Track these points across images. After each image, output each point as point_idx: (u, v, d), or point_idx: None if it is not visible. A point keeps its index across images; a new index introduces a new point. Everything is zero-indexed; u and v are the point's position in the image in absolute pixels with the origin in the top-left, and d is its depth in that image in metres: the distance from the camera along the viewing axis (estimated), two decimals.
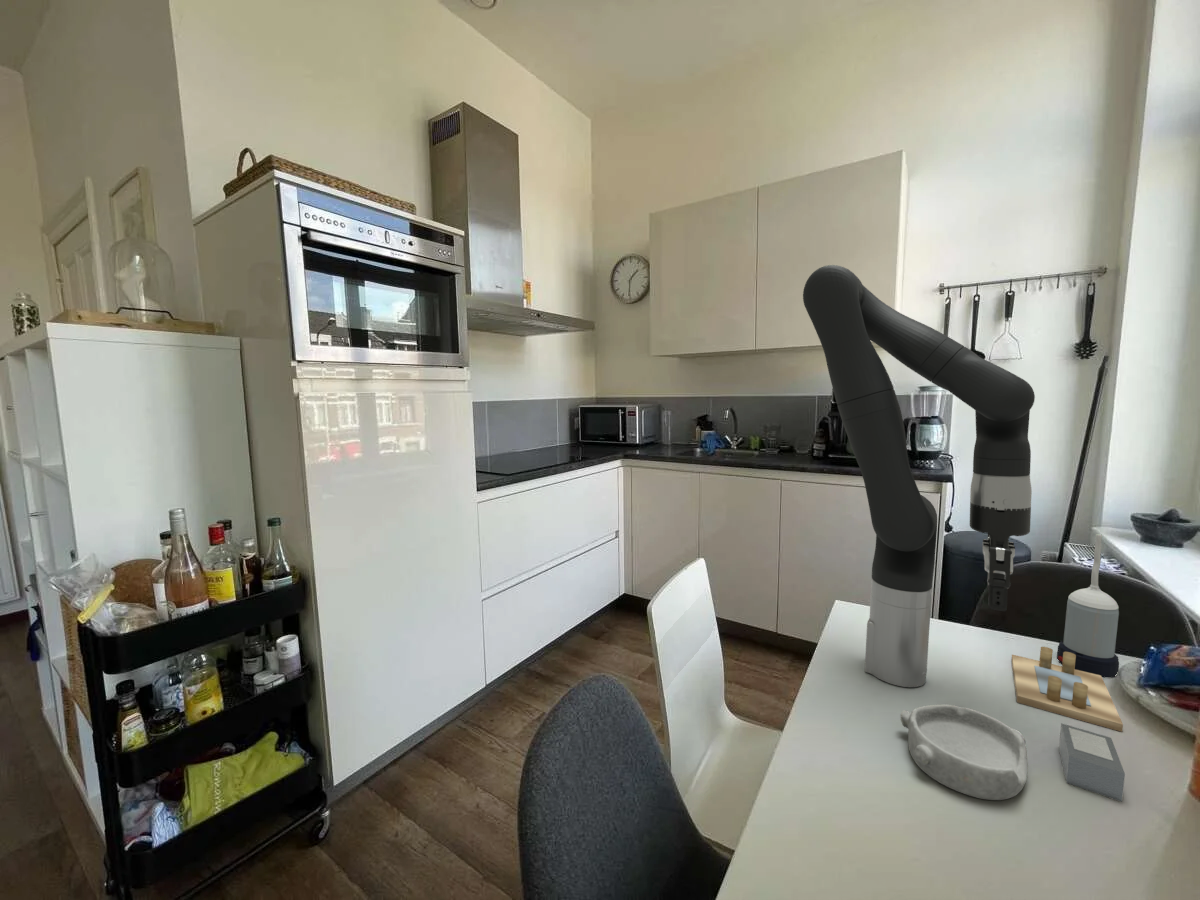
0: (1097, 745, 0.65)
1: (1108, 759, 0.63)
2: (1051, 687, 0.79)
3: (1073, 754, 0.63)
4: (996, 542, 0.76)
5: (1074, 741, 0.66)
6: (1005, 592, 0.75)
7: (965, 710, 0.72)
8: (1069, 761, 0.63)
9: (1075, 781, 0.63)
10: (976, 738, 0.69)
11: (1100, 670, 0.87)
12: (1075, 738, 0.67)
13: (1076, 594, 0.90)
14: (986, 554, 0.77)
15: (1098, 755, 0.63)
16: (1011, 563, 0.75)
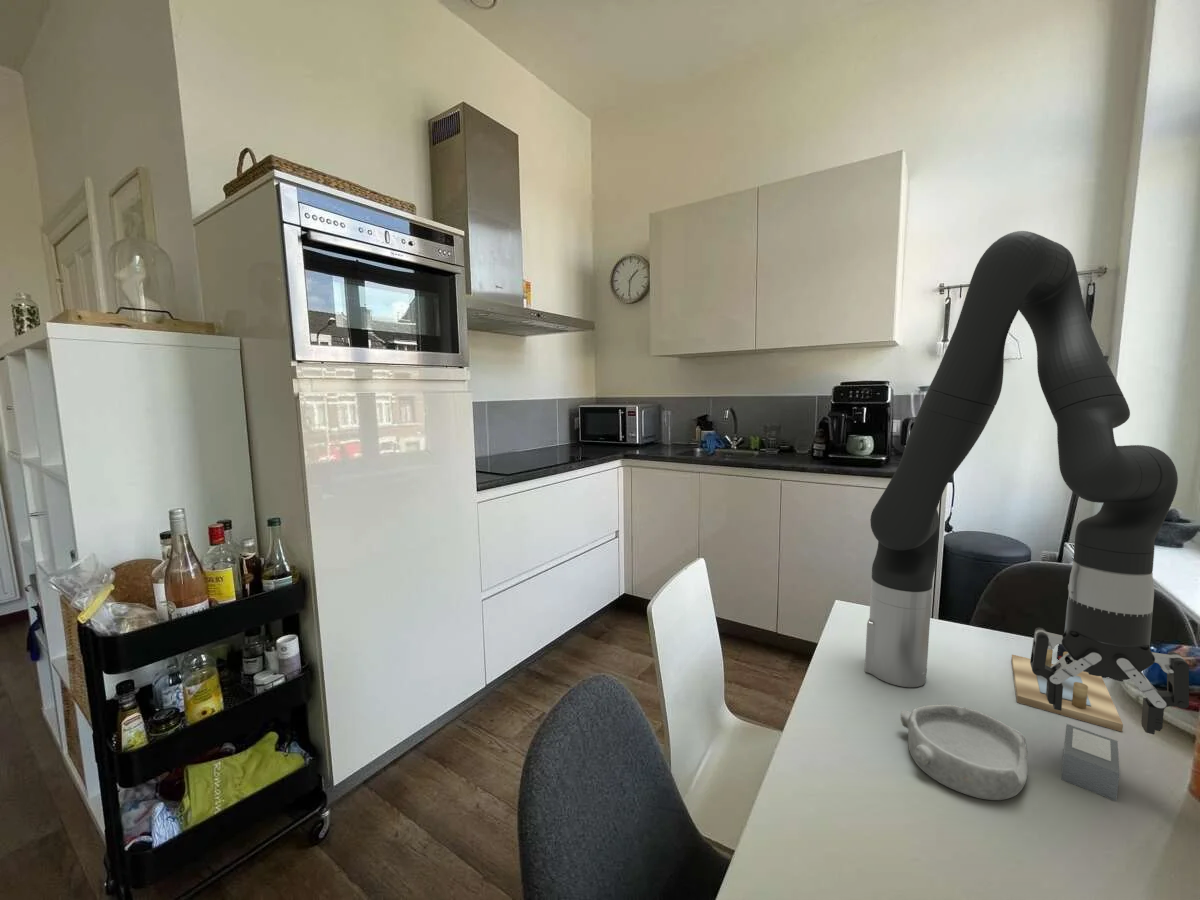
0: (1099, 746, 0.65)
1: (1106, 759, 0.63)
2: None
3: (1069, 752, 0.64)
4: None
5: (1074, 740, 0.66)
6: None
7: (965, 710, 0.72)
8: (1064, 758, 0.64)
9: (1070, 778, 0.64)
10: (976, 738, 0.69)
11: None
12: (1077, 738, 0.67)
13: None
14: (1138, 671, 0.61)
15: (1096, 755, 0.63)
16: None
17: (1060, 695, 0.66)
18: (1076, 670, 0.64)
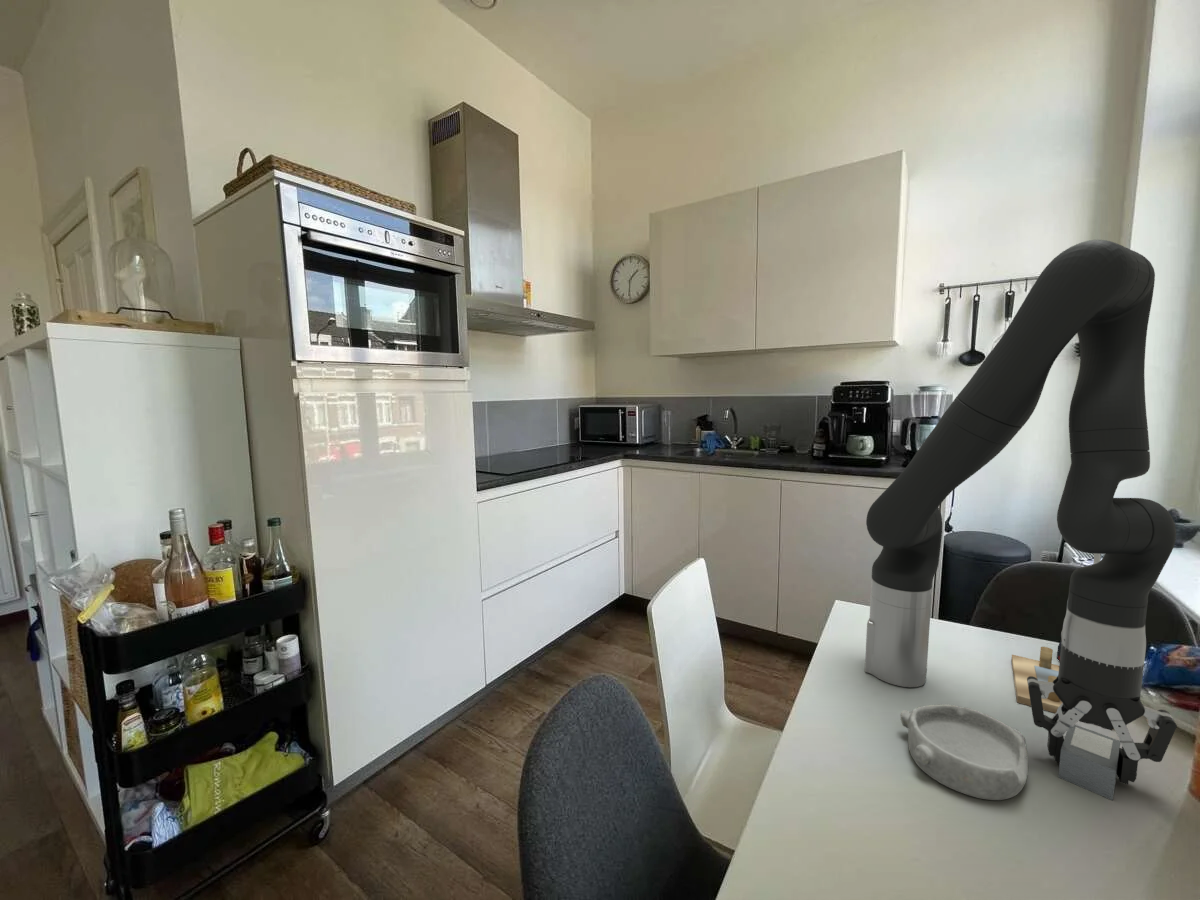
0: (1100, 745, 0.65)
1: (1104, 757, 0.63)
2: None
3: (1066, 749, 0.64)
4: (1142, 704, 0.61)
5: (1074, 738, 0.66)
6: None
7: (965, 710, 0.72)
8: (1061, 754, 0.64)
9: (1067, 775, 0.64)
10: (976, 737, 0.69)
11: None
12: (1078, 736, 0.67)
13: None
14: (1124, 723, 0.62)
15: (1095, 752, 0.64)
16: None
17: None
18: (1072, 720, 0.65)
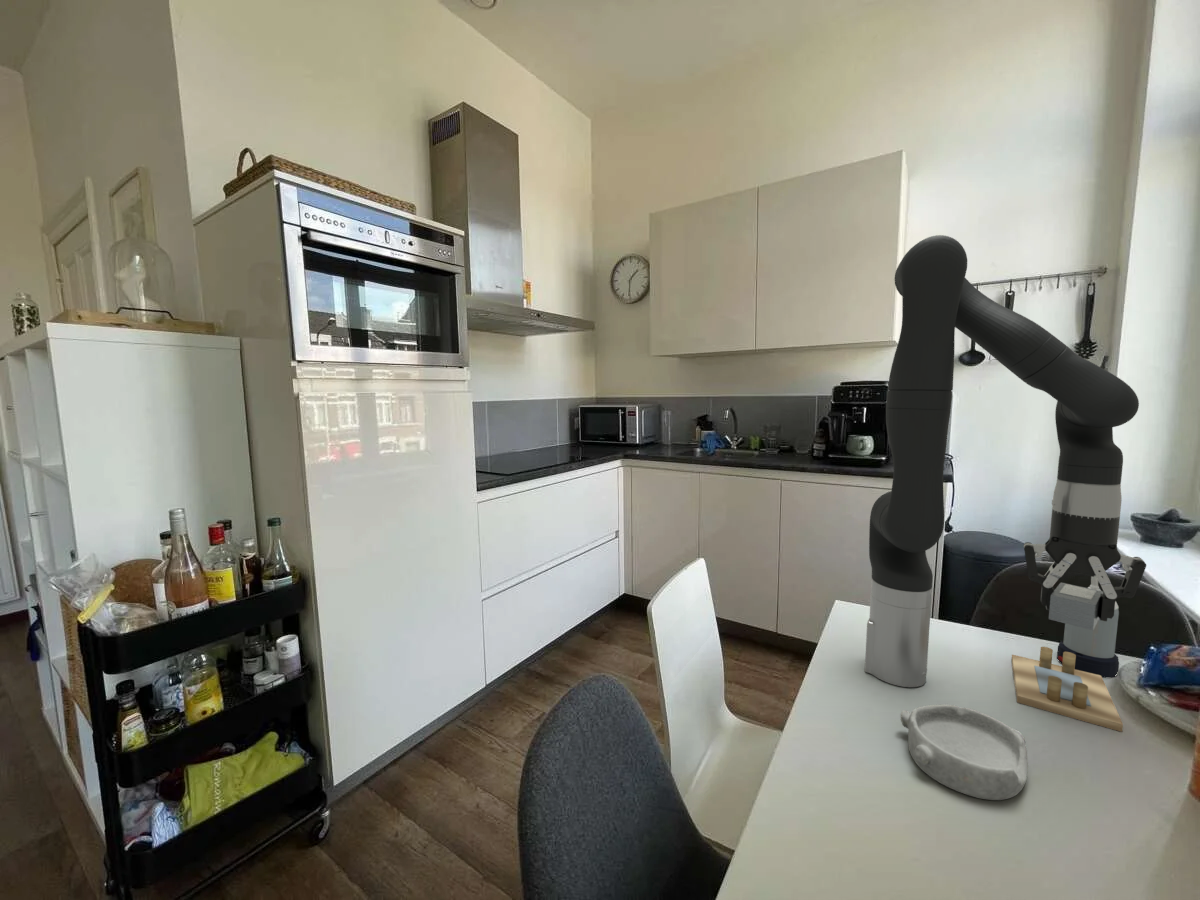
0: (1085, 593, 0.77)
1: (1087, 598, 0.75)
2: (1051, 687, 0.79)
3: (1055, 594, 0.77)
4: (1118, 552, 0.74)
5: (1063, 590, 0.79)
6: None
7: (965, 710, 0.72)
8: (1051, 599, 0.77)
9: (1055, 616, 0.77)
10: (976, 738, 0.69)
11: (1100, 670, 0.87)
12: (1066, 588, 0.79)
13: None
14: (1103, 568, 0.74)
15: (1080, 596, 0.76)
16: None
17: None
18: (1060, 571, 0.77)
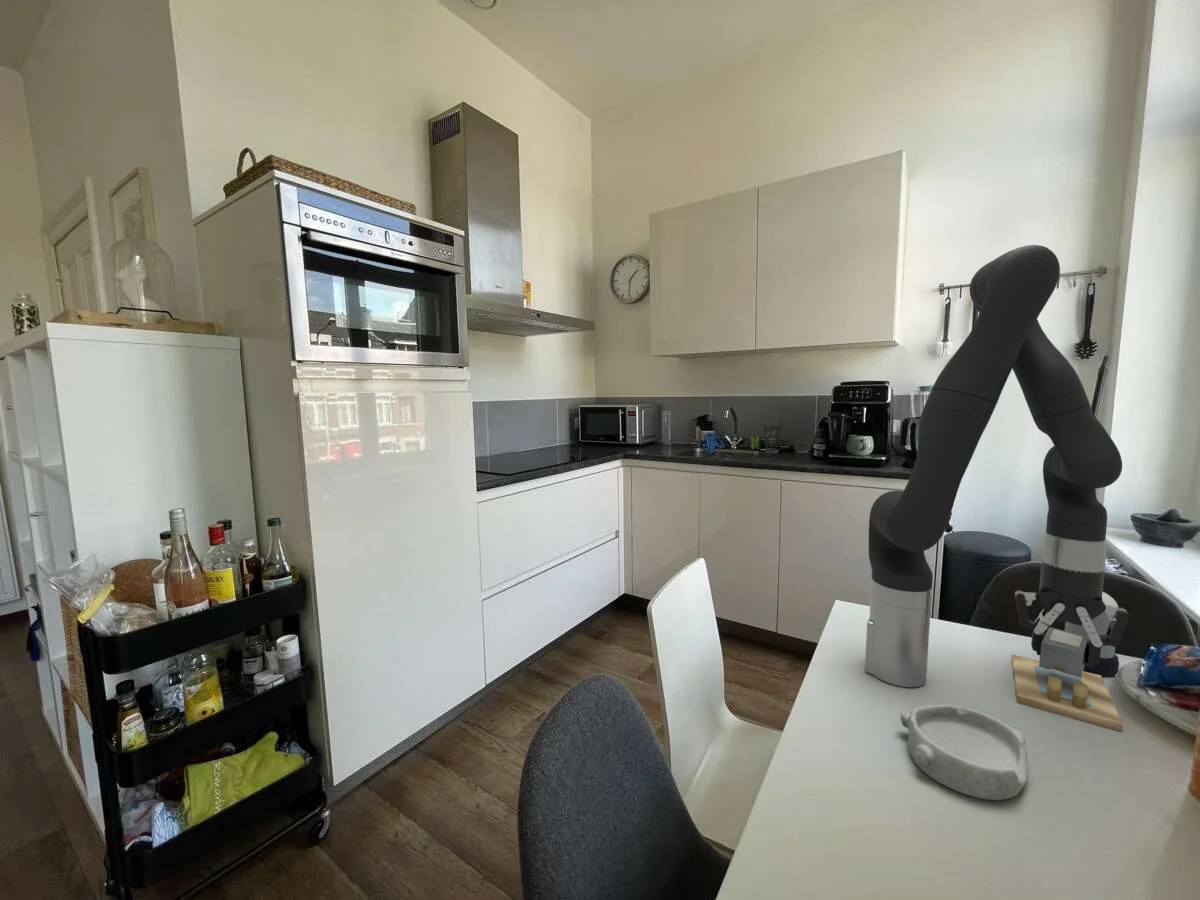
0: (1072, 639, 0.82)
1: (1075, 646, 0.80)
2: (1051, 687, 0.79)
3: (1046, 642, 0.81)
4: (1103, 603, 0.79)
5: (1052, 636, 0.83)
6: None
7: (965, 710, 0.72)
8: (1041, 646, 0.82)
9: (1046, 662, 0.81)
10: (976, 738, 0.69)
11: (1100, 670, 0.87)
12: (1055, 634, 0.84)
13: None
14: (1090, 618, 0.79)
15: (1068, 643, 0.81)
16: None
17: None
18: (1050, 620, 0.82)
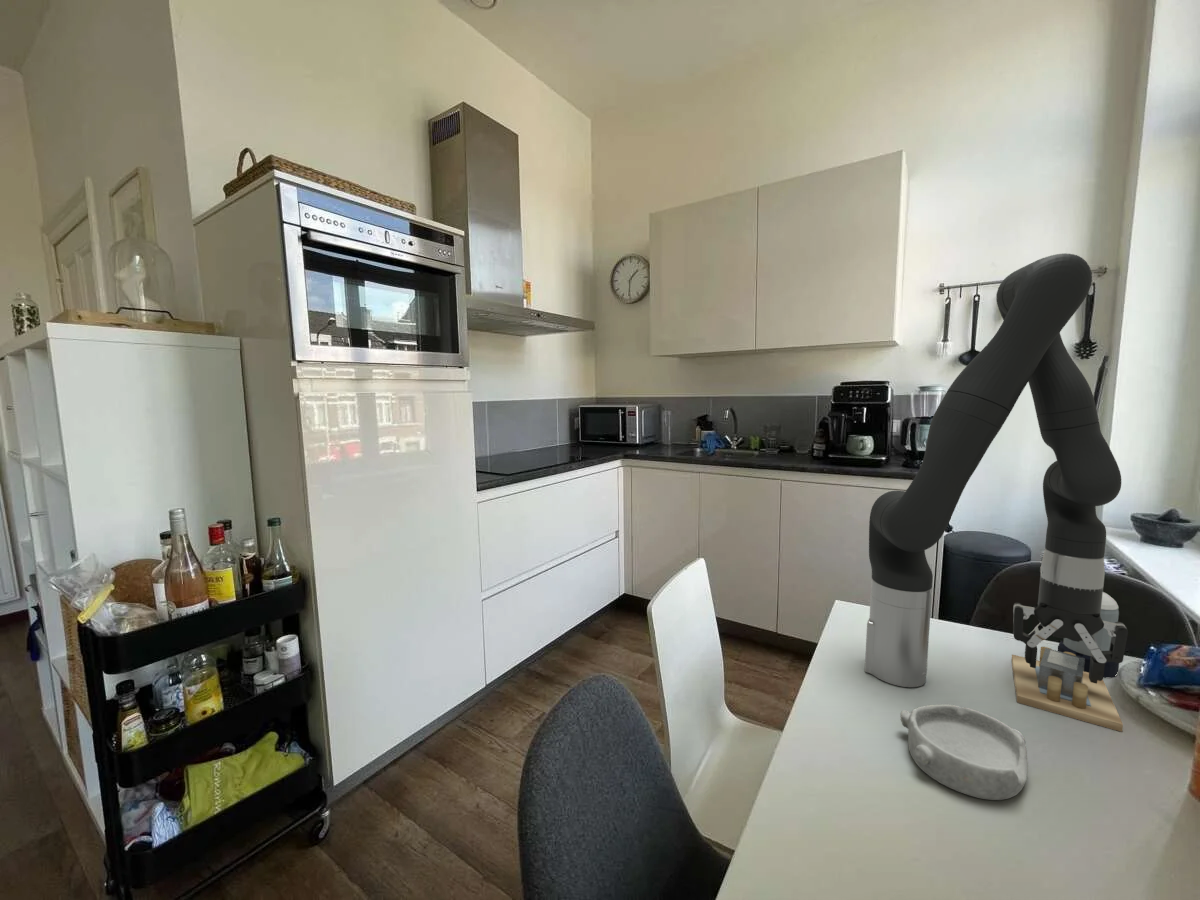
0: (1069, 661, 0.83)
1: (1073, 668, 0.80)
2: (1051, 687, 0.79)
3: (1044, 664, 0.82)
4: (1101, 619, 0.79)
5: (1050, 657, 0.84)
6: None
7: (965, 710, 0.72)
8: (1040, 669, 0.82)
9: (1044, 684, 0.81)
10: (976, 737, 0.69)
11: None
12: (1052, 656, 0.84)
13: None
14: (1089, 634, 0.79)
15: (1066, 666, 0.81)
16: None
17: (1035, 656, 0.84)
18: (1046, 634, 0.82)
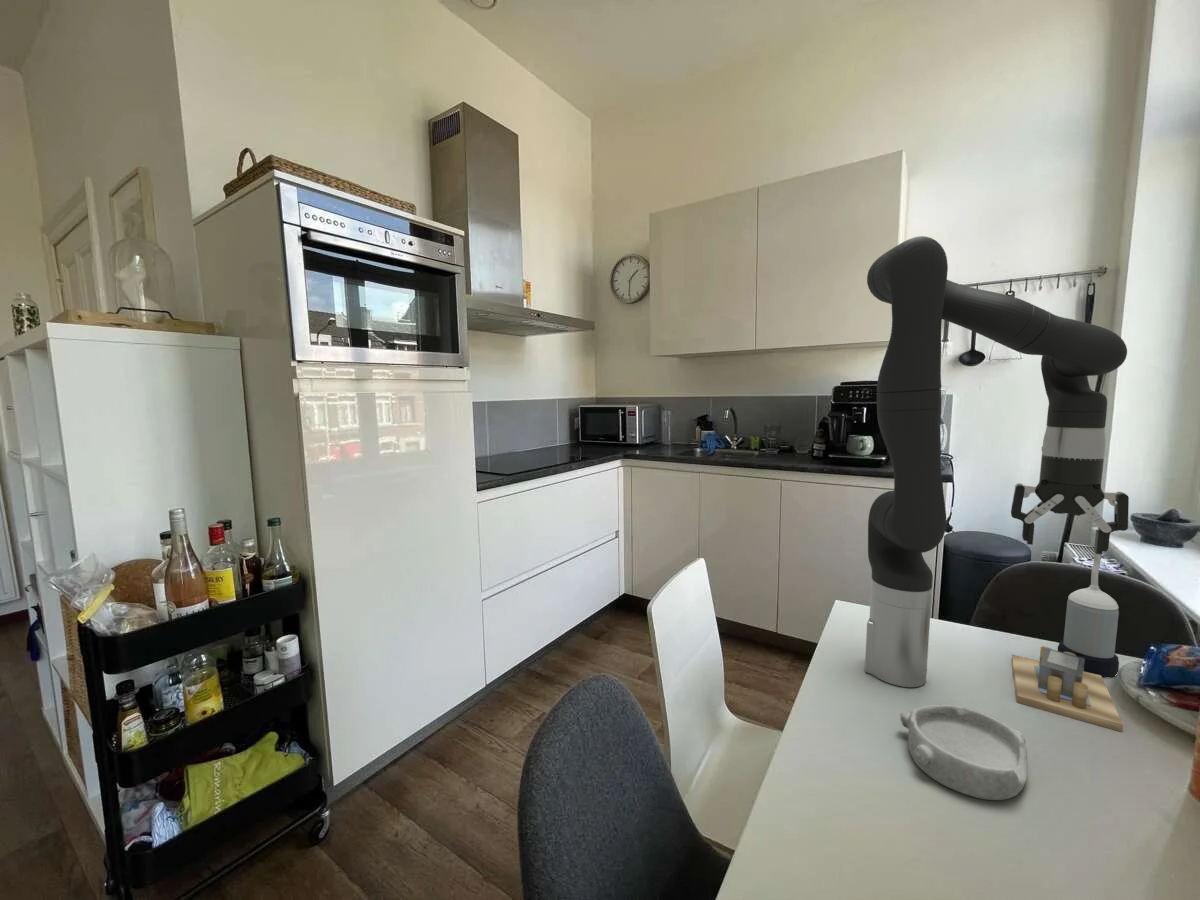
0: (1069, 661, 0.83)
1: (1073, 668, 0.80)
2: (1051, 687, 0.79)
3: (1044, 664, 0.82)
4: None
5: (1050, 657, 0.84)
6: None
7: (965, 710, 0.72)
8: (1040, 669, 0.82)
9: (1044, 684, 0.81)
10: (976, 738, 0.69)
11: (1100, 670, 0.87)
12: (1052, 656, 0.84)
13: (1076, 594, 0.90)
14: (1091, 505, 0.80)
15: (1066, 666, 0.81)
16: None
17: (1032, 532, 0.85)
18: (1044, 510, 0.83)
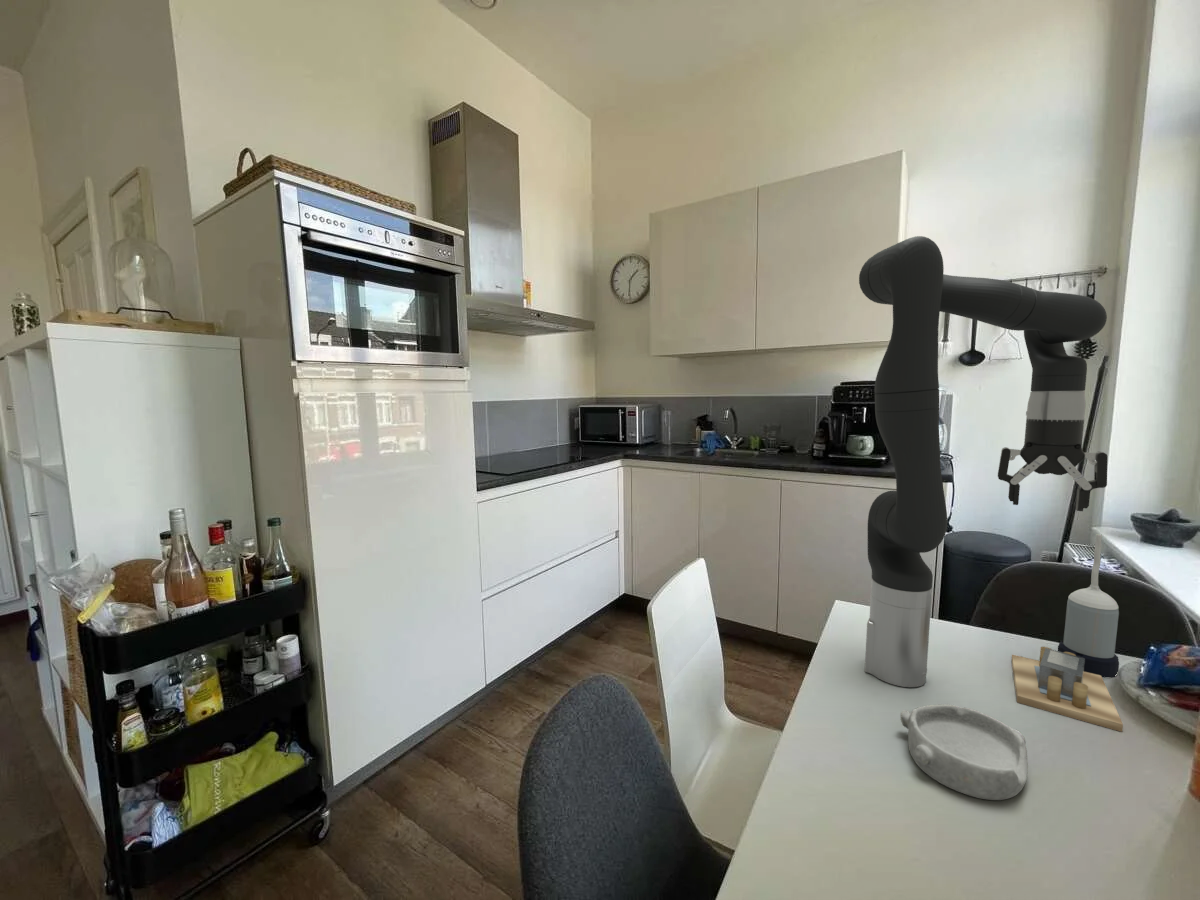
0: (1069, 661, 0.83)
1: (1073, 668, 0.80)
2: (1051, 687, 0.79)
3: (1044, 664, 0.82)
4: None
5: (1050, 657, 0.84)
6: None
7: (965, 710, 0.72)
8: (1040, 669, 0.82)
9: (1044, 684, 0.81)
10: (976, 737, 0.69)
11: (1100, 670, 0.87)
12: (1052, 656, 0.84)
13: (1076, 594, 0.90)
14: (1072, 464, 0.84)
15: (1066, 666, 0.81)
16: None
17: (1017, 492, 0.89)
18: (1029, 471, 0.88)
